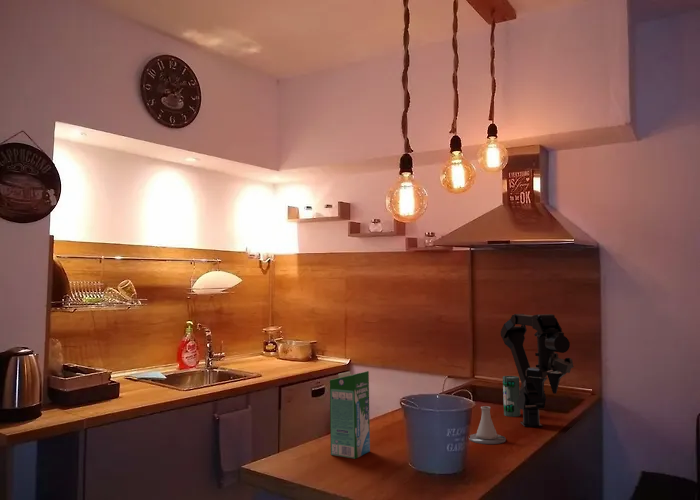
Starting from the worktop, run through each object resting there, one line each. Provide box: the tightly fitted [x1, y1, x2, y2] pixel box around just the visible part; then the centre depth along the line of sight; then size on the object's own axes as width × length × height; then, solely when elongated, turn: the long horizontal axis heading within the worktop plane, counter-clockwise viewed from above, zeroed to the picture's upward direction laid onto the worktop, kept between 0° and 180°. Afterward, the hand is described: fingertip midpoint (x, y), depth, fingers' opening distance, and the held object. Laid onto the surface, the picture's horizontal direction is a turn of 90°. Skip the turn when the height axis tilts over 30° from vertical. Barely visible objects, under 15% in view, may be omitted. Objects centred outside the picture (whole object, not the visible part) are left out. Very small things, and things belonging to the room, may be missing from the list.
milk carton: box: [329, 370, 371, 460], centre depth 171 cm, size 9×9×25 cm
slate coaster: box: [468, 433, 507, 445], centre depth 184 cm, size 12×12×1 cm
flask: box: [475, 405, 499, 439], centre depth 185 cm, size 7×7×10 cm
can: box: [502, 375, 522, 418], centre depth 220 cm, size 6×6×15 cm
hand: (548, 395), depth 192 cm, fingers open, 9 cm apart
